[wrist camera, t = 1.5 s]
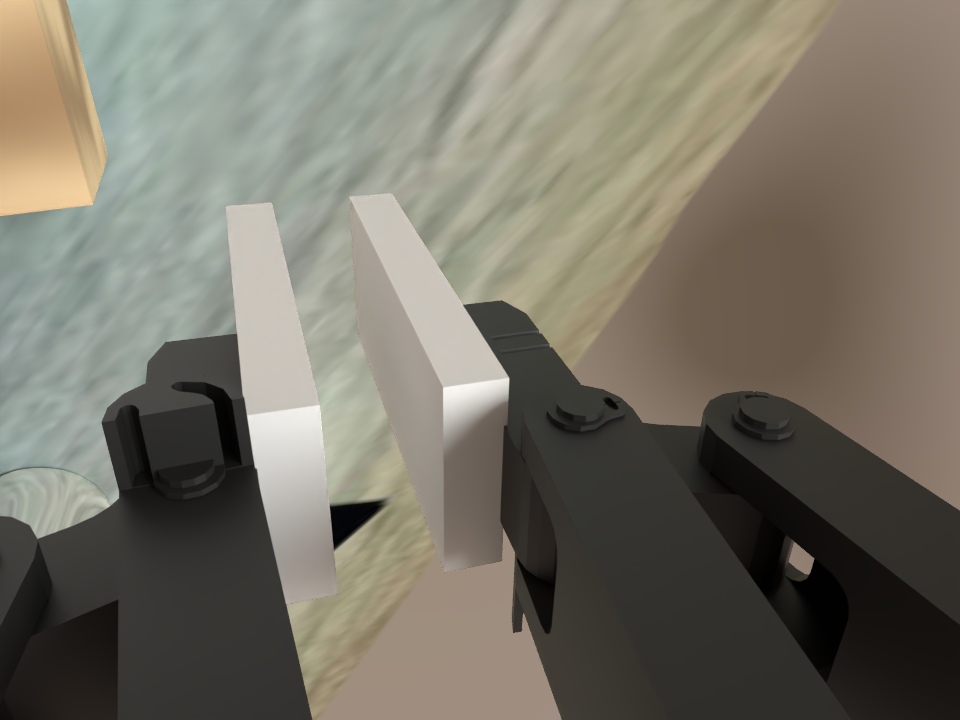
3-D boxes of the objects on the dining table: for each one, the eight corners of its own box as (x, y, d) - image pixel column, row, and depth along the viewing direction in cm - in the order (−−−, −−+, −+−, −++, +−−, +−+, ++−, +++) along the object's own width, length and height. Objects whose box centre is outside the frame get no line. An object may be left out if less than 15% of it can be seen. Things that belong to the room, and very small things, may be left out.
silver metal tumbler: (82, 590, 41) (33, 895, 29) (-70, 550, 38) (-201, 878, 25) (148, 488, 39) (127, 766, 27) (-5, 436, 36) (-111, 728, 23)
